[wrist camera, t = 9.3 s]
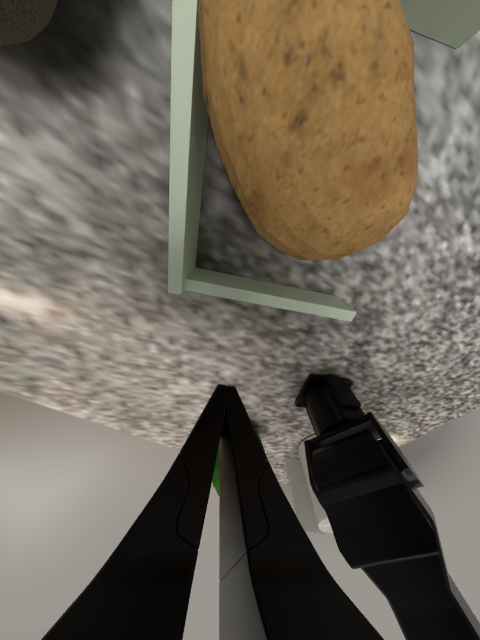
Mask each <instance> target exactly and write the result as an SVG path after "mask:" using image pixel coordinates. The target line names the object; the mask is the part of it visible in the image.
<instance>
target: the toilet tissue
mask: <svg viewBox="0 0 480 640" xmlns="http://www.w3.org/2000/svg"><path fill="white" fill-rule="evenodd" d="M314 437H316V434H315V435H312V436H310V437H308V438H306V439H305V440H310V439H312V438H314ZM305 440H304V441H305ZM304 441H302V442H301V444H300V445H299V447H298V454H299V457H300V461H299V460H294V459H289V458H286V457H285V462H286V467H287V473H288V476H289V481H290V486H291V491H292V497H293V500H294V505H295V510H296V515H297V518H298V520H299V522H300V523H301V525H302V527H303V529H304V531H308V532H314V533H317V532H318V533H323V534H324V533H333V531H332V528H331V525H330V522H329V520H328V517H327V515H326V512H325V510H324V509H323V508H322V506H321V505H320V503H319V501H318V500H317V498H316V495H315V494H314V493H313V491H312V487H311V485H310V480H309V474H308V467H307V461H306V454H305V445H304Z"/></svg>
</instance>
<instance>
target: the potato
mask: <svg viewBox="0 0 480 640" xmlns="http://www.w3.org/2000/svg"><path fill="white" fill-rule="evenodd" d="M198 13H199V31H200V48H201V66H202V84H203V97H204V100H205V104H206V108H207V112H208V115H209V119H210V123H211V127H212V131H213V134H214V138H215V142H216V146H217V149H218V153H219V156H220V158H221V160H222V163H223V165H224V167H225V170H226V172H227V174H228V177H229V179H230V181H231V184H232V186H233V188H234V190H235V192H236V194H237V196H238V198H239V200H240V202H241V204H242V206H243V208H244V210H245V212H246V213H247V215H248V217H249V219H250V220H251V222H252V224H253V226H254V228H255V229H256V231H257V233H258V235H259V236H261V237H262V238H263V239H265V240H266V241H267V242H269V243H270V244H271V245H273V246H274V247H275V248H277V249H278V250H280V251H282V252H285V253H287V254H289V255H291V256H293V257H295V258H298V259H300V260H338V259H340V258H342V257H345V256H347V255H349V254H352V253H354V252H356V251H359V250H361V249H364V248H366V247H369V246H371V245H374V244H376V243H378V242H380V241H381V240H382V239H383V238H384V237H385V236H386V235H387V234H388V233H389V232H390V231H391V230H392V229H393V228H394V227H395V226H396V225H397V224H398V223H399V222H400V221H401V220H402V219H403V218H404V217H405V216H406V215H407V213H408V210H409V206H410V203H411V199H412V196H413V192H414V189H415V185H416V182H417V179H418V154H417V128H416V114H415V100H414V42H413V39H412V36H411V33H410V30H409V27H408V24H407V21H406V19H405V16H404V13H403V10H402V7H401V4H400V1H399V0H200V2H199V8H198Z"/></svg>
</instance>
